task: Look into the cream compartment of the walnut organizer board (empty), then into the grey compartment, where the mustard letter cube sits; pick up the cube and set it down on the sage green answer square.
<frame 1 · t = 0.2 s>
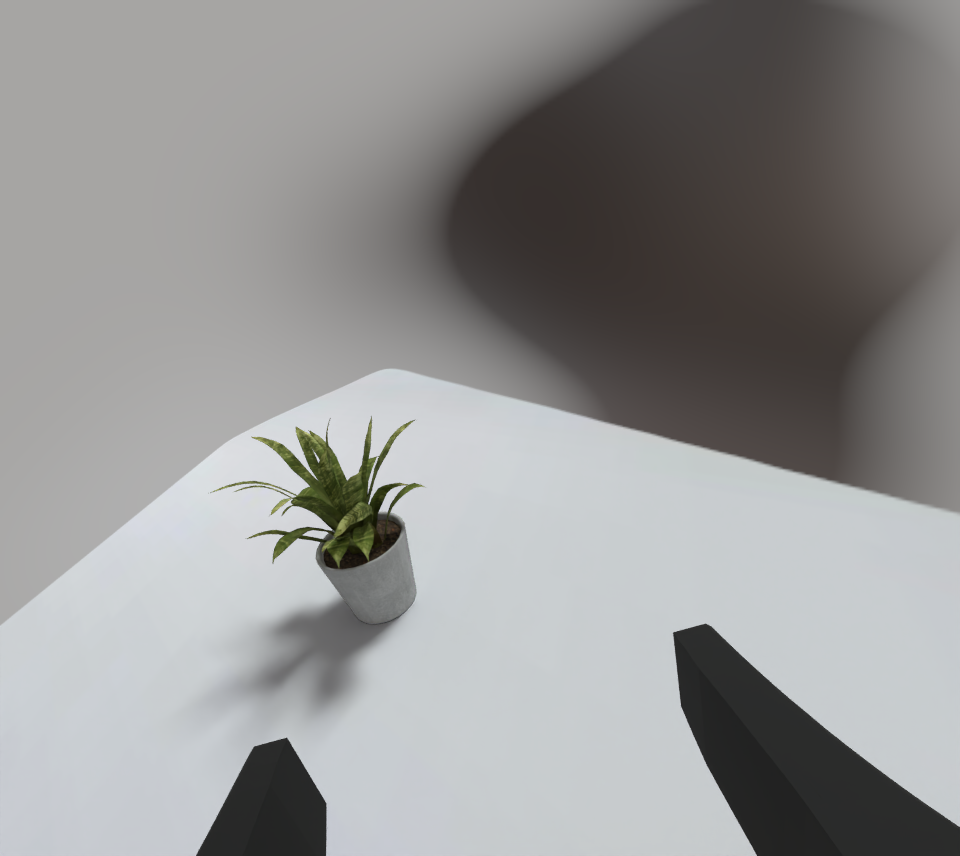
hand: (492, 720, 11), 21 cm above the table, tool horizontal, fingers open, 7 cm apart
house plant: (370, 604, 48), on the table
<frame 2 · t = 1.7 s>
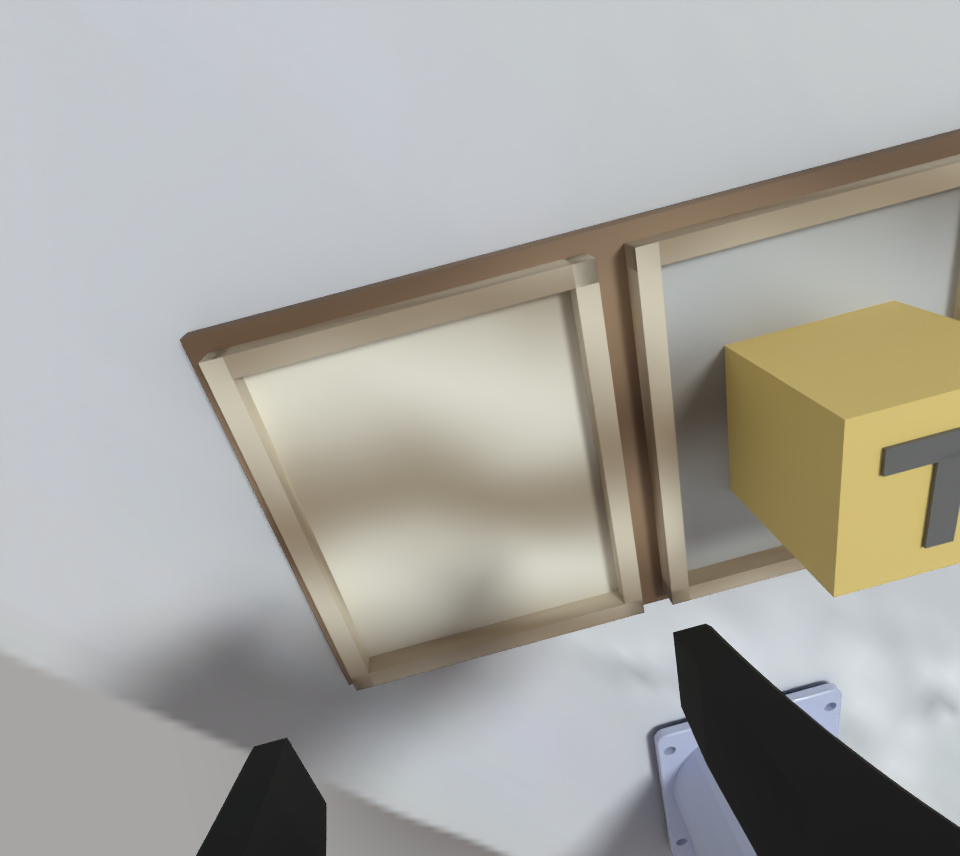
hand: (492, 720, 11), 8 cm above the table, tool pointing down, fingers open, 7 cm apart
letter cube: (806, 400, 18), point 1 cm above the table, touching organizer board
organizer board: (762, 400, 18), on the table
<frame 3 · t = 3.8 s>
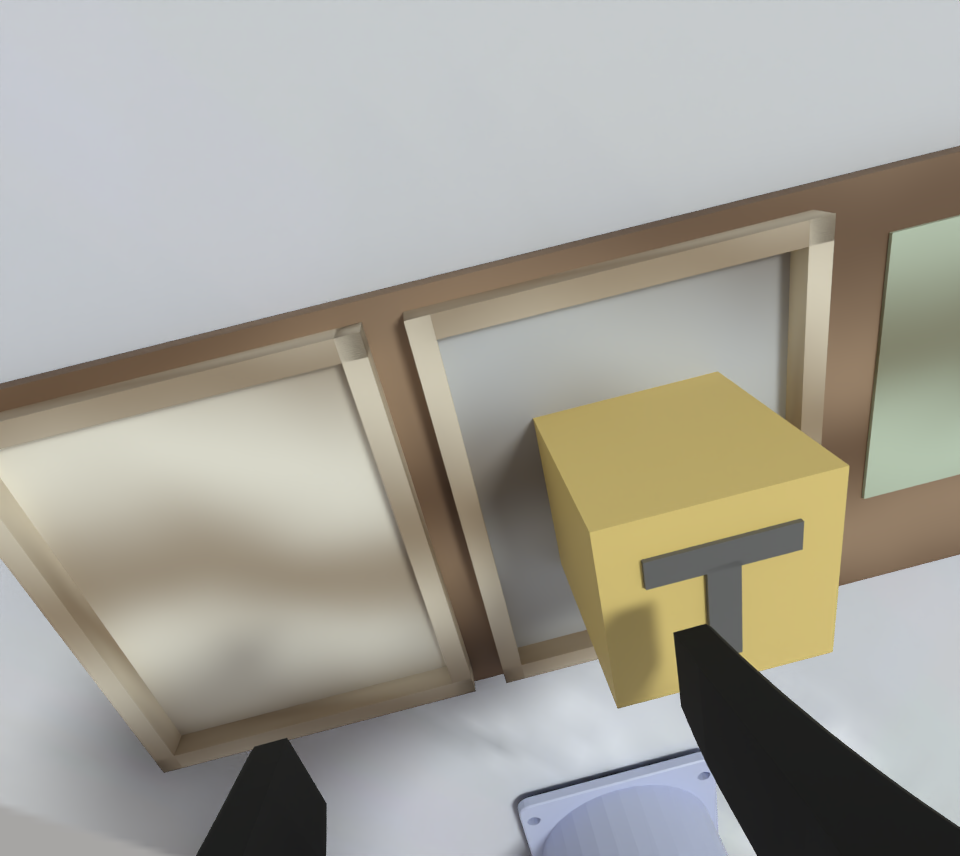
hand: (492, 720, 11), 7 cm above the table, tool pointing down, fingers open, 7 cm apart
letter cube: (634, 474, 16), point 1 cm above the table, touching organizer board
organizer board: (592, 470, 17), on the table
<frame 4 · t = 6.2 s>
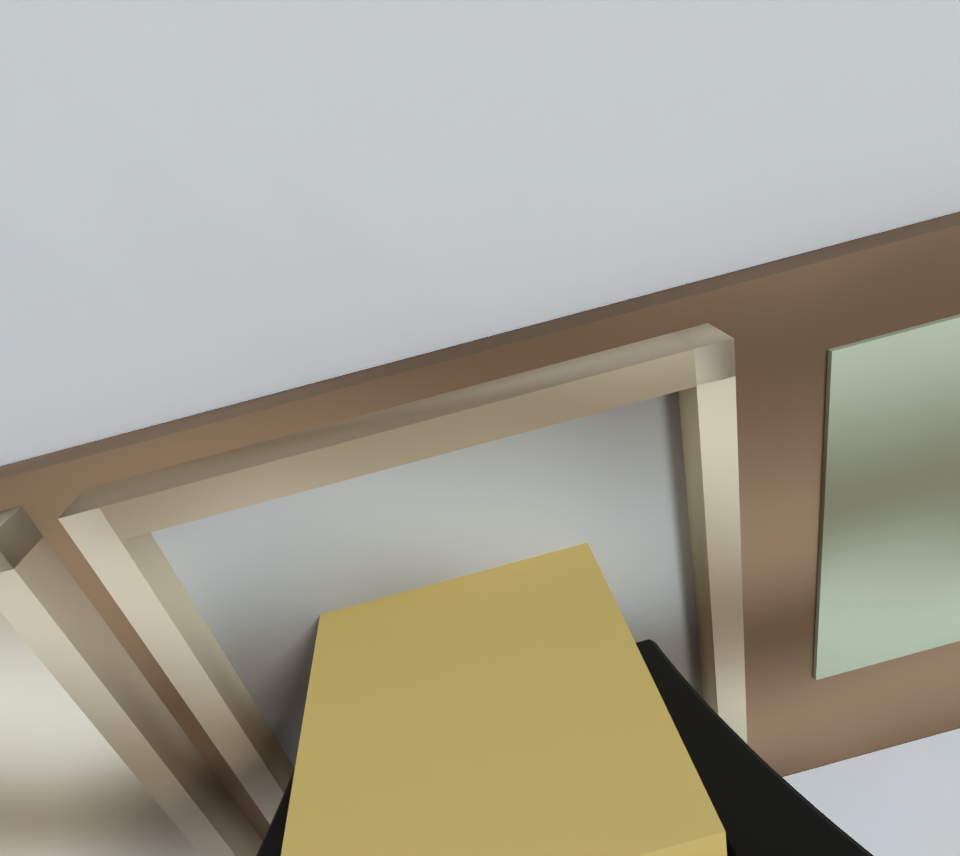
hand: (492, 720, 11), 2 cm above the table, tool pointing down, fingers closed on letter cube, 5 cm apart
letter cube: (484, 671, 12), point 1 cm above the table, touching gripper, organizer board
organizer board: (434, 657, 12), on the table
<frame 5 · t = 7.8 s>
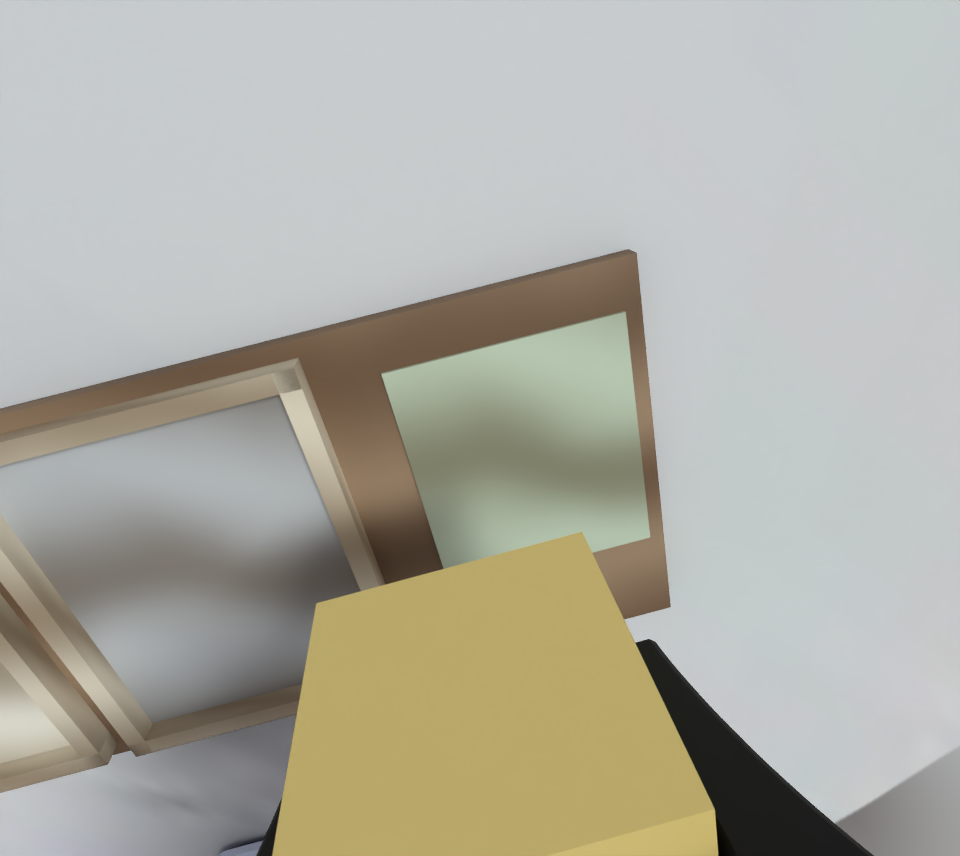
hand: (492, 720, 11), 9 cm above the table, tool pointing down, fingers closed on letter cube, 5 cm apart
letter cube: (480, 661, 12), point 8 cm above the table, touching gripper
organizer board: (185, 569, 19), on the table
when the fingers open (3 cm above the table, at t = 9.6 s): letter cube stays where it is, resting on organizer board.
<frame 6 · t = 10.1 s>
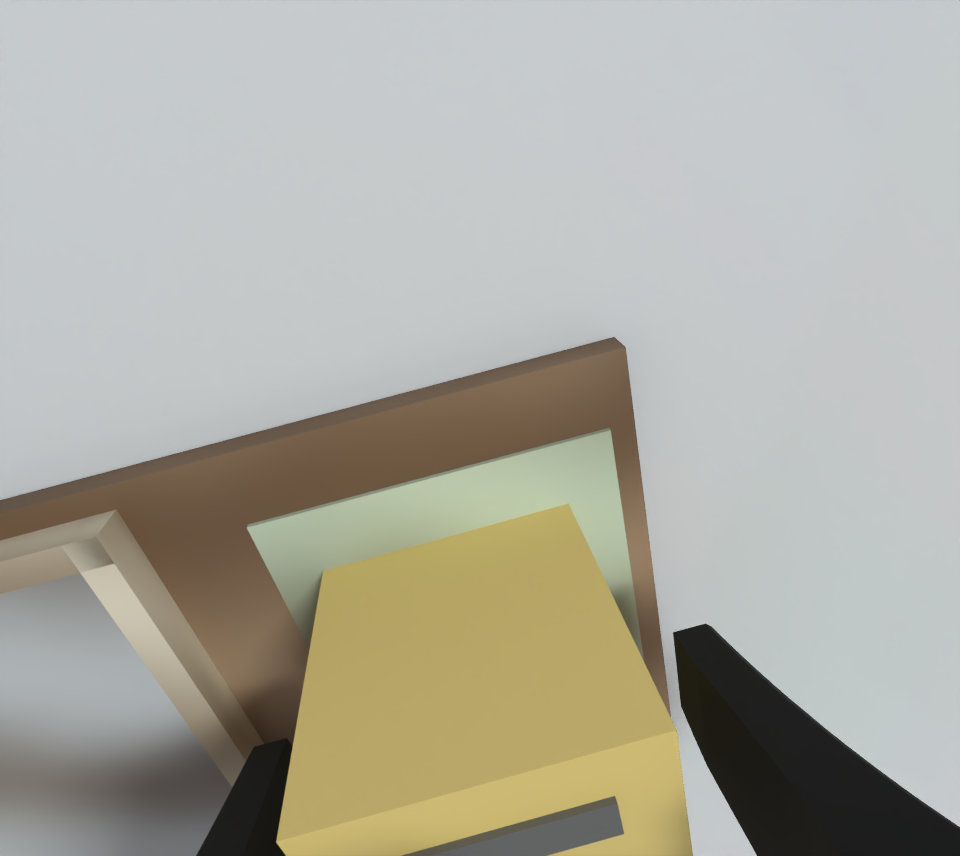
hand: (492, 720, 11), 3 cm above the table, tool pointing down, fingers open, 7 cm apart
letter cube: (475, 627, 13), point 1 cm above the table, touching organizer board
organizer board: (6, 768, 14), on the table
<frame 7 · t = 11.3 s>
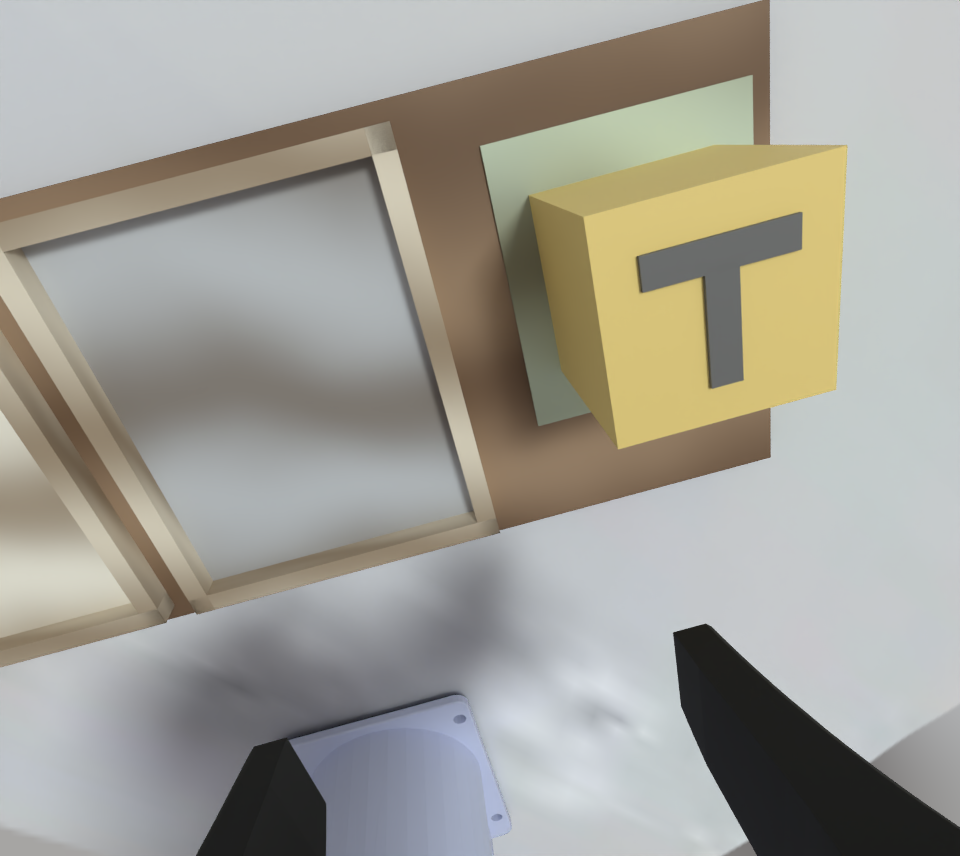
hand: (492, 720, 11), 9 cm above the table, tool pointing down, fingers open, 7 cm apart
letter cube: (632, 265, 16), point 1 cm above the table, touching organizer board
organizer board: (252, 398, 17), on the table
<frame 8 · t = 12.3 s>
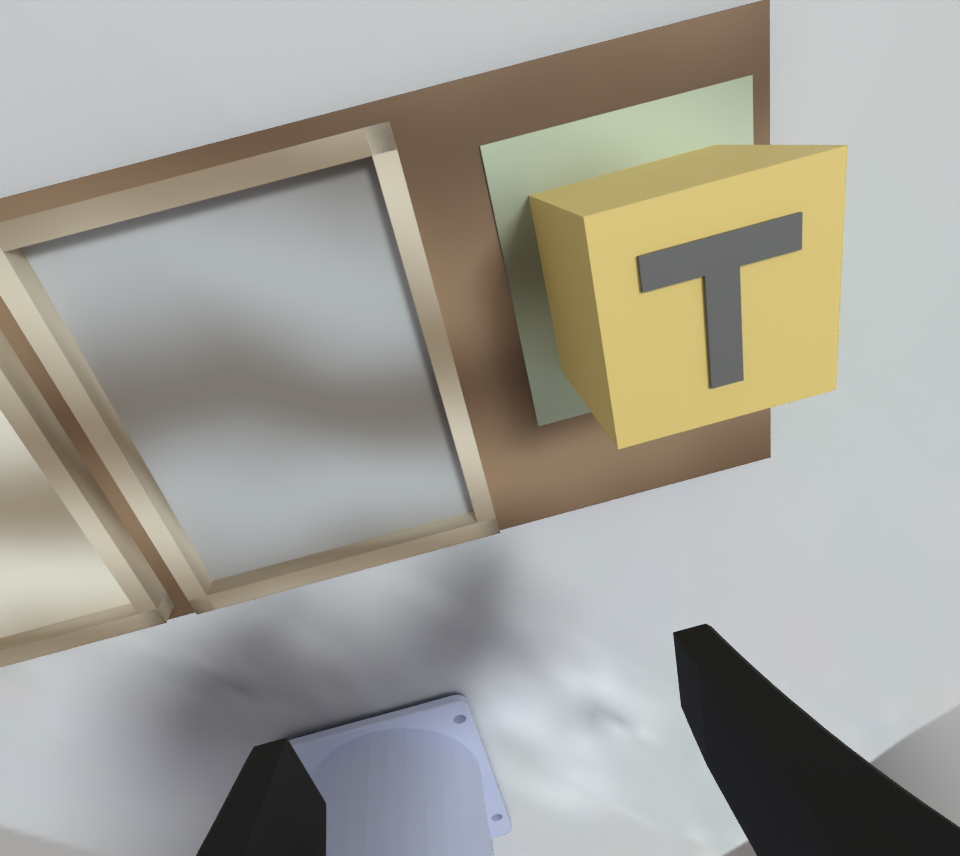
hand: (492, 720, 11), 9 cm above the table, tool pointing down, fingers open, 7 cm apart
letter cube: (632, 265, 16), point 1 cm above the table, touching organizer board
organizer board: (252, 398, 17), on the table
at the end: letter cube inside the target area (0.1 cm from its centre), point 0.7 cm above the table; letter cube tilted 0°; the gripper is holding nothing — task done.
